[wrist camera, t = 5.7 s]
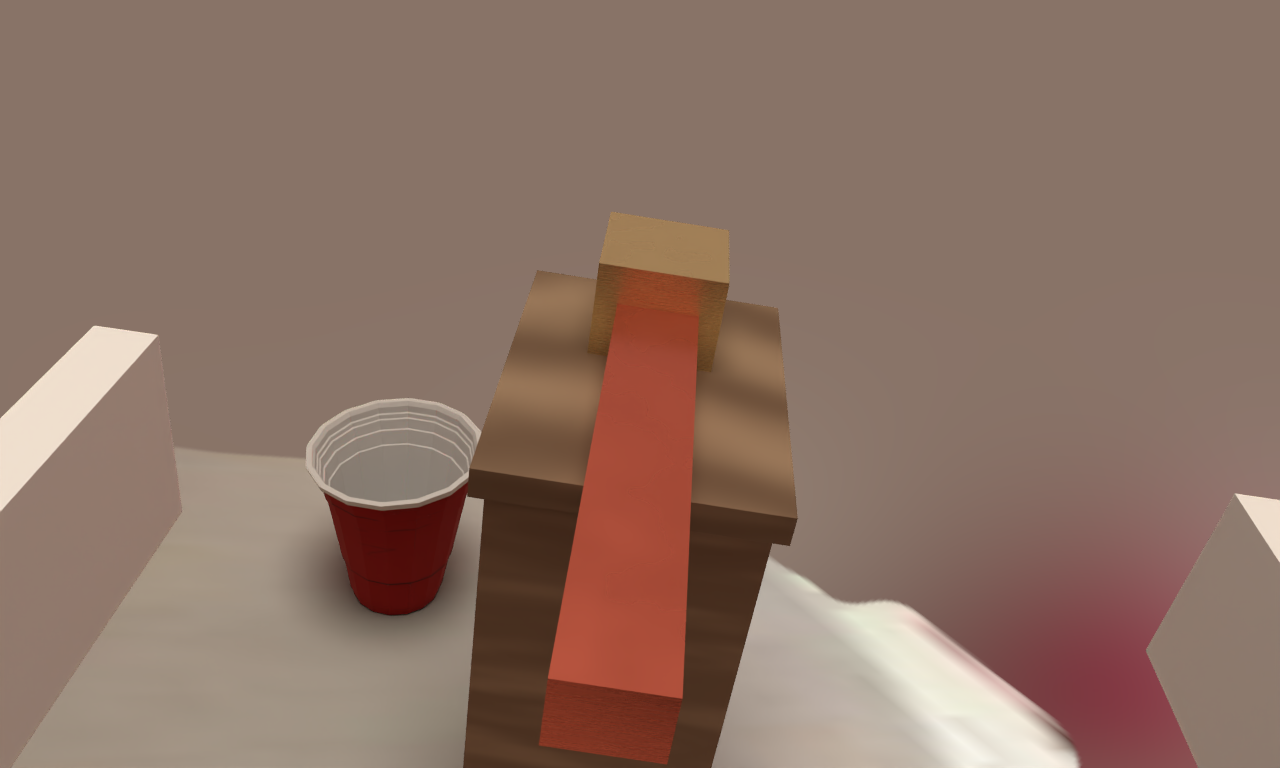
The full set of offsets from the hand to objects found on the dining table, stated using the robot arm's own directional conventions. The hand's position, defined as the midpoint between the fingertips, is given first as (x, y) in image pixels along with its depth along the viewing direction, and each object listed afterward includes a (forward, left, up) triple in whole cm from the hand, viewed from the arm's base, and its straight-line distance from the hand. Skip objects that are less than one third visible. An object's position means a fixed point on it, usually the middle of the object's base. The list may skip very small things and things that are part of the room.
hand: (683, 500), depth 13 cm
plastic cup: (+19, +39, -44) cm, 62 cm away
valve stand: (+17, +17, -43) cm, 50 cm away
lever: (+13, +13, -13) cm, 23 cm away
